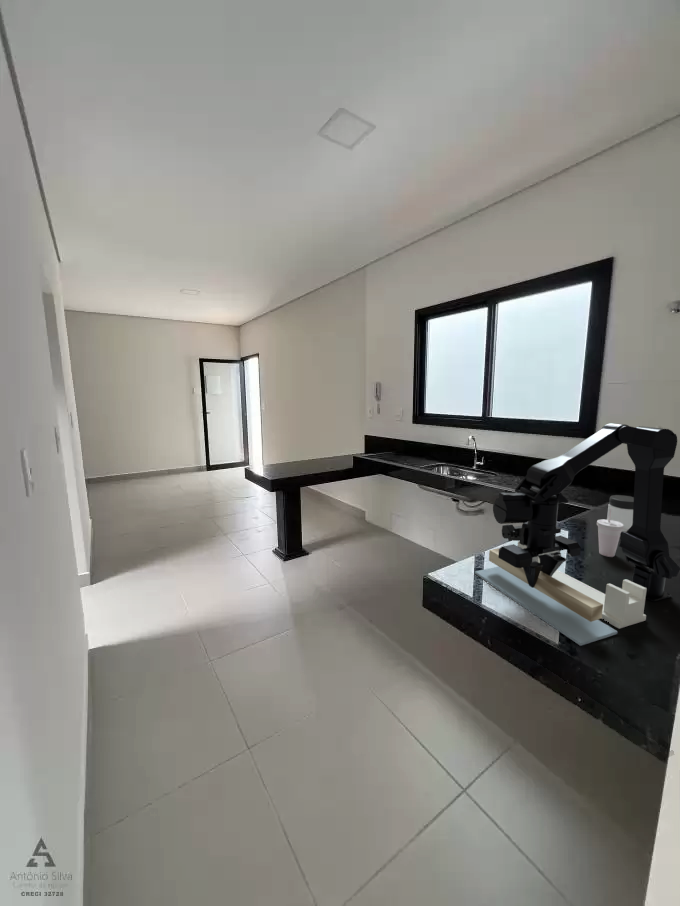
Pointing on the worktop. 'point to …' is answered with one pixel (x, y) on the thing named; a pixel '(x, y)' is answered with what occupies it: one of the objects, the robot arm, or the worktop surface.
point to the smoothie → (608, 535)
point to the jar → (621, 510)
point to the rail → (555, 590)
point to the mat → (547, 607)
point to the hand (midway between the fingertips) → (537, 585)
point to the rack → (611, 599)
